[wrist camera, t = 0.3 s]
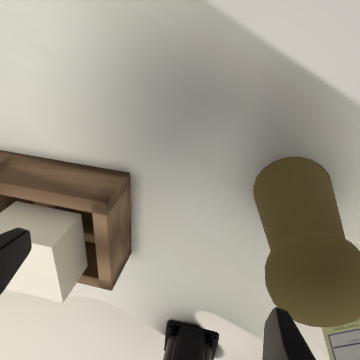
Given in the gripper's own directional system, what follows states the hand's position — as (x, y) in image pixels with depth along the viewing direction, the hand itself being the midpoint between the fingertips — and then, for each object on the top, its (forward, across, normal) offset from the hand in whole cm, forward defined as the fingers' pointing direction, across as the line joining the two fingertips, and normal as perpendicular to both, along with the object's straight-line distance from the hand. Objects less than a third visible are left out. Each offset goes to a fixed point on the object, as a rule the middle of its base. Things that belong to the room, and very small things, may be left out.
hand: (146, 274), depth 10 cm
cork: (+14, -8, +2) cm, 17 cm away
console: (+14, +16, +11) cm, 24 cm away
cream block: (+10, +10, +11) cm, 18 cm away
